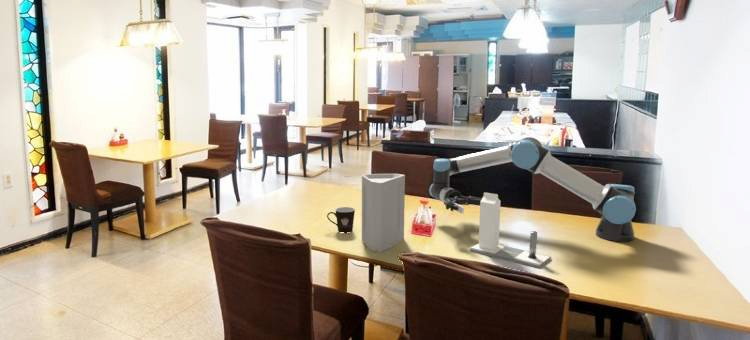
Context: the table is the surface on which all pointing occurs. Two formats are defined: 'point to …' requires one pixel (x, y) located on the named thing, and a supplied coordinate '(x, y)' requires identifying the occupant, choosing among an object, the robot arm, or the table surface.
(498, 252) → the plate
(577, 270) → the table surface
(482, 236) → the milk
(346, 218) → the coffee mug
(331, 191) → the table surface
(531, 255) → the steel pin
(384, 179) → the tall triangular prism
